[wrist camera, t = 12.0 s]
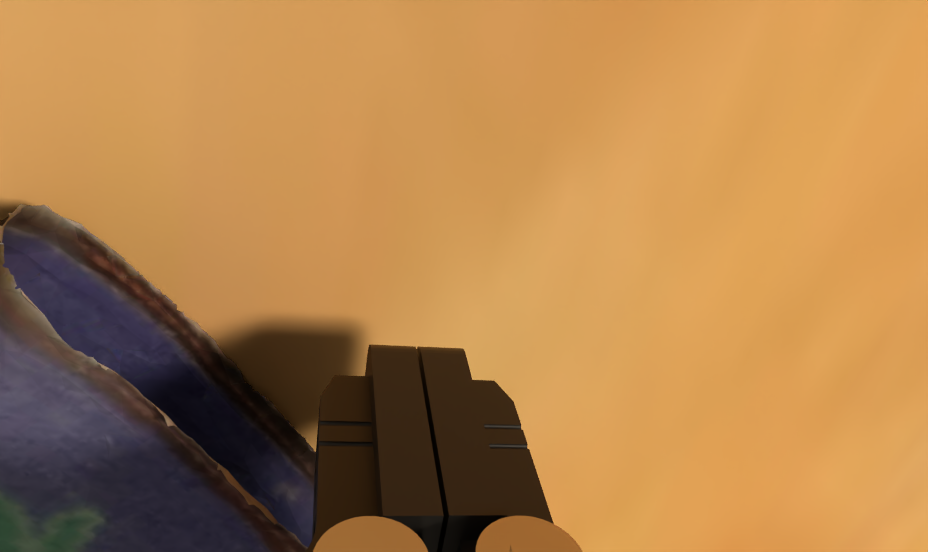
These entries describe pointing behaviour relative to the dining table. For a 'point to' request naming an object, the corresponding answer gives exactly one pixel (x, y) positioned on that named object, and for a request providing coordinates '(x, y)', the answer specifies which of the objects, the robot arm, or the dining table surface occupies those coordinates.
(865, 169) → the dining table surface
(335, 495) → the robot arm
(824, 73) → the dining table surface
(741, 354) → the dining table surface
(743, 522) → the dining table surface
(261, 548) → the flask
